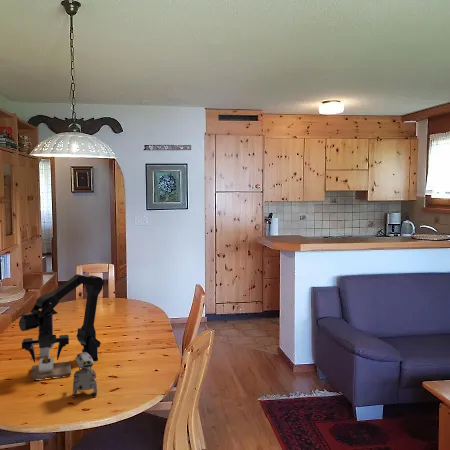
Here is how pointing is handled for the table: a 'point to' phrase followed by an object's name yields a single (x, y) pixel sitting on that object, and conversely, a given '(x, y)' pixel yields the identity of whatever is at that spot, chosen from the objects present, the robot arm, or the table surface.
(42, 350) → the lighter
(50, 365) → the steel link
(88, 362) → the figurine
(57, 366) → the grey peg stand
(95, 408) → the table surface
